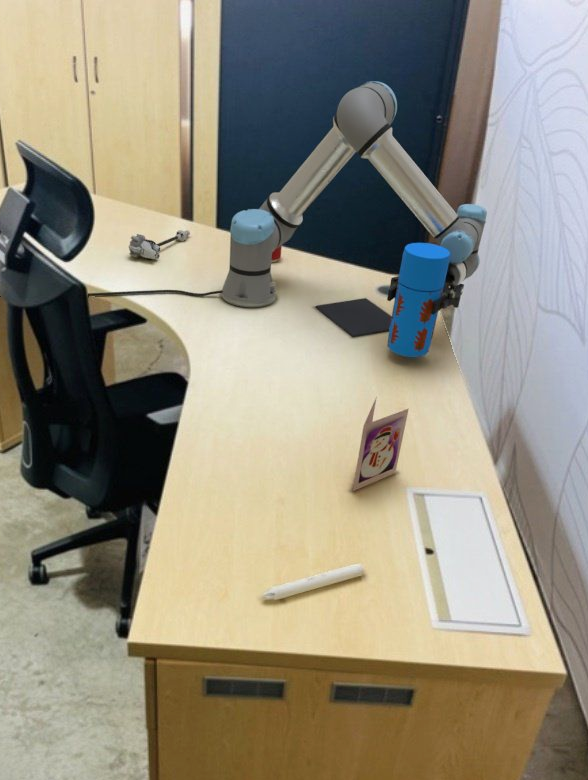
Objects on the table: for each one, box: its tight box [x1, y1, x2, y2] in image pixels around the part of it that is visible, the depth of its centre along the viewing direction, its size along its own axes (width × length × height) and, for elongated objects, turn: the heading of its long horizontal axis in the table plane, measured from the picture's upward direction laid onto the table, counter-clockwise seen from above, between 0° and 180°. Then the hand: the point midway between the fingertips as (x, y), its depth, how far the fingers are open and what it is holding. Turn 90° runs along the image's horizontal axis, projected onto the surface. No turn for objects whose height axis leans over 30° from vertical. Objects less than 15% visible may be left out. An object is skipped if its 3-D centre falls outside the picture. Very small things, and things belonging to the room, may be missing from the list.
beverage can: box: [271, 244, 283, 263], centre depth 239 cm, size 6×6×12 cm
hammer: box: [128, 229, 191, 260], centre depth 243 cm, size 10×7×30 cm
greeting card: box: [352, 395, 409, 492], centre depth 145 cm, size 11×7×15 cm, turn 126°
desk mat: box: [315, 297, 392, 338], centre depth 210 cm, size 17×20×1 cm
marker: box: [262, 562, 365, 601], centre depth 122 cm, size 18×2×2 cm, turn 114°
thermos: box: [387, 242, 450, 358], centre depth 183 cm, size 11×11×25 cm
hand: (411, 302), depth 180 cm, fingers closed on thermos, 11 cm apart
